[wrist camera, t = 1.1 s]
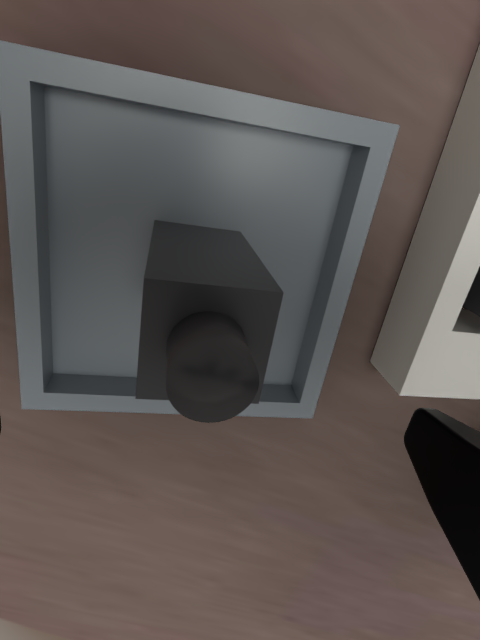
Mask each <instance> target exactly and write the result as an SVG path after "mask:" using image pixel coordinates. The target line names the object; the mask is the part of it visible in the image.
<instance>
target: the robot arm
mask: <svg viewBox="0 0 480 640" xmlns="http://www.w3.org/2000/svg"><path fill="white" fill-rule="evenodd" d="M0 433H1V418H0ZM404 443H405V447H406V449H407V452H408V454H409V456H410V459H411V461H412V464H413V466H414V468H415V471H416V473H417V476H418V478H419V480H420V483H421V485H422V488H423V490H424V492H425V495H426V497H427V499H428V502H429V504H430V506H431V508H432V510H433V512H434V514H435V516H436V518H437V520H438V522H439V524H440V526H441V528H442V529H443V531H444V533H445V535H446V537H447V539H448V541H449V543H450V545H451V547H452V549H453V550H454V552H455V554H456V556H457V558H458V560H459V562H460V564H461V566H462V568H463V569H464V571H465V573H466V575H467V577H468V579H469V581H470V583H471V585H472V587H473V589H474V590H475V592H476V594H477V596H478V598H479V600H480V432H478V431H476V430H475V429H473V428H471V427H469V426H467V425H465V424H463V423H461V422H459V421H457V420H456V419H454V418H452V417H450V416H448V415H446V414H444V413H442V412H440V411H438V410H436V409H433V408H419V409H417V410H416V411H415V412H414V414H413V416H412V418H411V421H410V423H409V425H408V428H407V430H406V432H405V435H404Z"/></svg>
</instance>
